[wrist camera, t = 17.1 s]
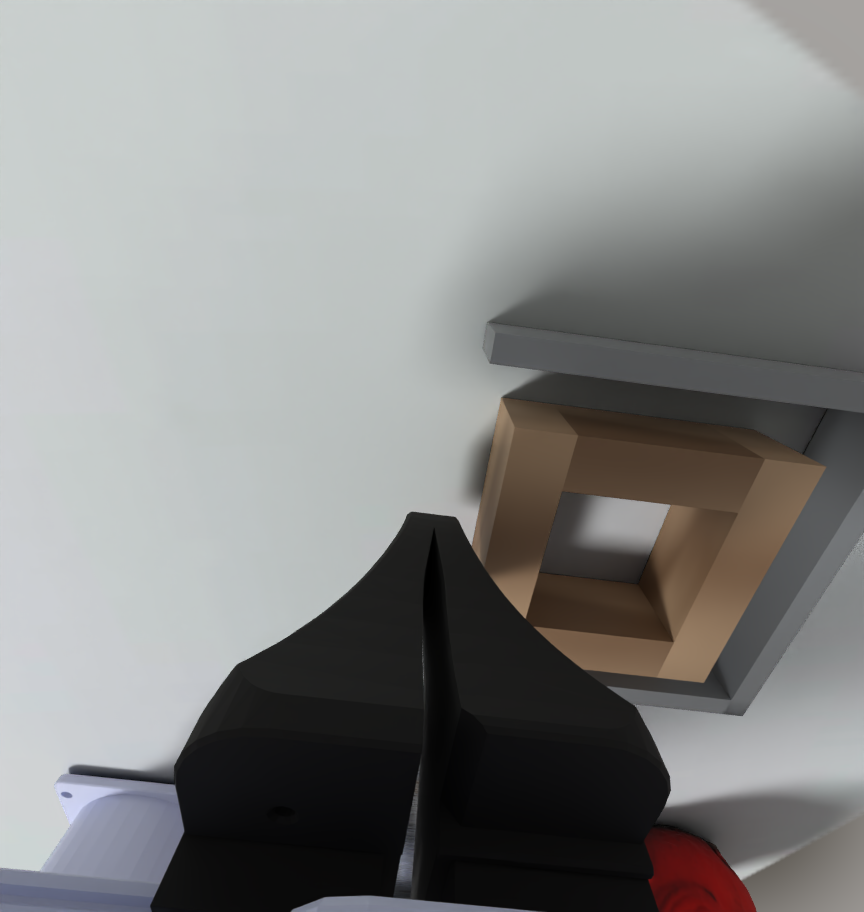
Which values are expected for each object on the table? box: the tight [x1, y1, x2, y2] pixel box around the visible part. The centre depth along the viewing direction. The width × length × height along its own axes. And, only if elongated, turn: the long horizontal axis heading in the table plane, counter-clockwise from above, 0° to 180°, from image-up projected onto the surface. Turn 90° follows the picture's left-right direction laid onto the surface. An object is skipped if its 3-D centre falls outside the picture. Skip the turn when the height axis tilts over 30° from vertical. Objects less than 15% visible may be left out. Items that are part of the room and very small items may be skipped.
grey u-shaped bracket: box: [483, 322, 864, 716], centre depth 13 cm, size 11×11×2 cm
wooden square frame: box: [472, 397, 826, 683], centre depth 12 cm, size 8×8×2 cm
